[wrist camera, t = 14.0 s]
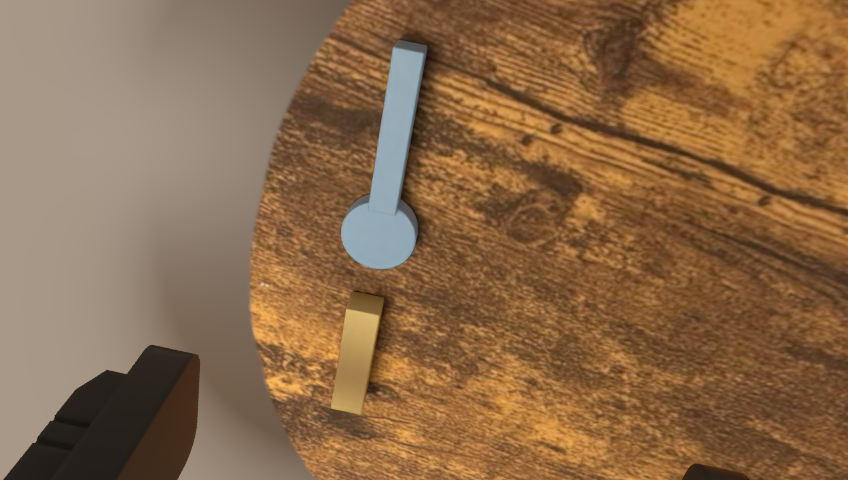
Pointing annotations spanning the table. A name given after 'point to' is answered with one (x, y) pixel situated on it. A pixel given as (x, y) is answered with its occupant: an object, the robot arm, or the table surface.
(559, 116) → the table surface
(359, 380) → the fry stick
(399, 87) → the spoon
